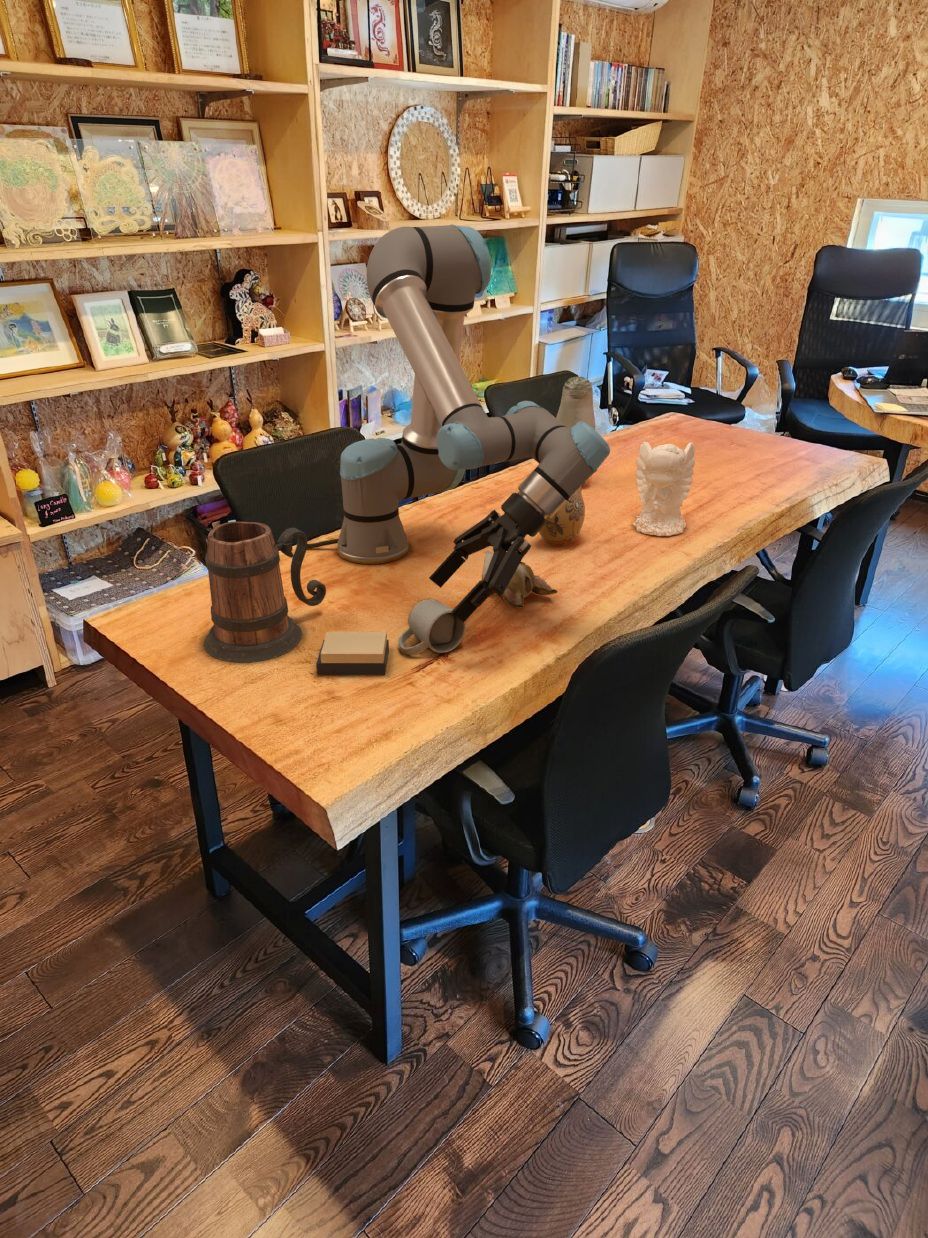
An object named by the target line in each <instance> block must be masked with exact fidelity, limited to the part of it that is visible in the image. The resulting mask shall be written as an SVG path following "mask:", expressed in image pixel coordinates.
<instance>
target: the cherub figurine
mask: <svg viewBox="0 0 928 1238" xmlns="http://www.w3.org/2000/svg"><path fill="white" fill-rule="evenodd" d="M695 449H696V448H695V445H694V443H693V441H692V442H691V441H690V442H689V443H687V444H686V446H685V448H684V449H683V448H680V447H678V446H676V445H675V444H673V443H665V444H660V445H656V446H655V447H653V448H652V446H651V444H650V443H649V442H648V441H643V442H642V443H641V444H640V446H639V449H638V456H637V458H636V463H635V464H636V470H635V478H636V480H635V483H636V486H637V492H638V494H639V495H638V497H639V500H640V501H641V511H640V513H639V515H636V516H635V518H636V519H635V520H636V521H634V522H633V523H632V526H634V528H636V531H637V532H639V533H642V534H645V535H650V536H657V537H663V536H665V537H670V536H674V535H679V534H682V533H684V529H685V528H686V527H687V526H686V525H687V524H686V520H685V519H684V516H683V515H682V509H681V507H683V502H684V500H687V498H688V497H689V494H688V493H689V492H690V491H691V488H692V487H691V484H692V482H693V477H692V476H693V475H694V467H695V465H696V459H695V452H696V450H695Z"/></svg>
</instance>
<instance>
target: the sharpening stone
mask: <svg viewBox="0 0 928 1238" xmlns="http://www.w3.org/2000/svg"><path fill="white" fill-rule="evenodd" d="M389 644H390V643H389V639H388V632H387V631H327V632H326V635H325V638H324V639H323V641H322V644H321V647H320V650H319V653H318V657H317V661H316V664H315V665H316V676H386V673H387V667H388V666H387V665H388V659H389V652H390V645H389Z"/></svg>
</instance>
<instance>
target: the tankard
mask: <svg viewBox="0 0 928 1238" xmlns="http://www.w3.org/2000/svg"><path fill="white" fill-rule="evenodd" d="M295 536H296V537H297V539H296V540H297V541H296V547H295V550H294V553H293V549H294V548H293V542H292V539H293V538H294V537H295ZM307 544H308V538H307V534H306V533H305V532H304V531H302V530H300V529H298V528H296V527H289V528H286V529H285V530H284V531H283V532H282V533H281V534H280V536H279V538H278V539H277V544H276V542H275V539H274V535H273V532H272V529H271V528H270V526H269V525H267V524H265V523H262V522H258V521H257V522H254V521H228V522H224V523H221V524H219V525H217V526H214V527H213V528H212V529H211V530H210V532H209V533H208V534H207V548H206V549H207V550H206V553H205V555H204V556H205V557H204V558H205V567H206V569H207V572H208V573H207V574H208V581H209V582H208V583H209V591H210V592H209V593H210V602H211V606H210V617H211V621H212V623H213V625H212V626H211V627H210V629H209V631H208V634H207V635H206V636H205V638H204V640H203V648H204V650H205V652H206V653H207V654H208V655H210V656H211V657H213V658H214V659H217V660H220V661H224V662H230V663H241V664H243V663H255V662H261V661H267V660H271V659H274V658H277V657H280V656H282V655H284V654H286V653H288V652H290V651H292V649H294V648H295V647H296V646H298V645H299V643H300V642H301V640H302V638H303V630H302V628H301V627H300V625H299V624H297V623H296V622H295V621H294V620H293V618H292V617H290V616H289V615H288V613H289V605H288V600H287V598H286V596H285V593H284V592H285V591H284V585H283V579H282V573H281V566H280V560H281V557H280V552H281V553H282V554H284V555H285V556H287V557H288V558H291V563H290V583H291V586H292V587H291V588H292V590H293V592H294V595H295V596H296V597H297V599H298V600H299V601H300V602H302V603H304V604H305V605H306V606H308V607H317V606H319V605H320V604H322V602H323V601H324V599H325V598H326V594H327V588H326V585H325V584H324V583H323V582H321V581H319V580H318V579H311V580H309V581H308V582H307V584H306V591H307V593H308V594H309V595H311V596H312V597H310V598H307V596H306V595H305V593H304V590H303V587H302V581H301V572H302V566H303V562H304V559H305V556H306V553H307V549H308V548H307ZM279 551H280V552H279Z"/></svg>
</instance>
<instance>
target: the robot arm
mask: <svg viewBox="0 0 928 1238" xmlns="http://www.w3.org/2000/svg"><path fill="white" fill-rule="evenodd" d="M491 276H492V261H491V254H490V252H489V248H488V247H487V244H486V241H485V238H483V236H482V235H481V233H480V232H479V231H478V230H477V229H475V228H474V227H472V226H469V225H468V226H467V225H455V224H448V225H447V224H445V225H427V226H425V225H424V226H399V227H396V228H393V229H391V230H389V231H388V232H386V233H384V234H383V235H382V236H381V237H380V238H379V239H378V240H377V242H376V243H375V244H374V246H373V248H372V249H371V252H370V254H369V257H368V261H367V265H366V286H367V290H368V294H369V297H370V300H371V302H372V304H373V306H374V308H375V310H376V312H377V313H378V315H380V316H381V317H383V318H386V319H387V321H388V323H389V325H390V327H391V328H392V331H393V333H394V335H395V337H396V339H397V340H398V343H399V345H400V347H401V349H402V351H403V352H404V355H405V357H406V359H407V361H408V363H409V365H410V367H411V369H412V371H413V373H414V378H413V391H412V403H411V412H410V413H411V415H410V423H409V424H408V425H407V426H405V427H404V428H403V430H402V438H401V442H400V443H396V442H395V441H394V440H392V439H390V438H385V437H384V438H383V437H378V438H373V437H372V438H366V439H361V440H359V441H355V442H353V443H351V444H350V445H348V446H346V447H345V448H344V450H343V451H342V452H341V454H340V468H339V475H340V481H341V482H340V483H341V493H342V495H341V496H342V507H343V521H342V524H341V529H340V532H339V536H338V538H333V539H328V540H322V541H318V542H313V543H312V542H311V543H307V549H315V548H316V549H317V548H321V547H324V546H325V547H326V546H330V545H331V546H332V545H336V544H337V553H338V556H339V557H340V558H341V559H344V560H346V561H348V562H350V563H356V564H363V565H377V564H378V565H380V564H385V563H390V562H394V561H397V560H399V559H402V558H403V557H405V555H407V554H408V552H409V547H410V546H409V538H408V536H407V533H406V530H405V528H404V526H403V524H402V520H401V518H400V509H399V507H400V506H399V505H400V504H399V501H403V500H407V499H408V500H409V499H413V498H419V497H423V496H428V495H435V494H436V495H437V494H442V493H444V492H446V491H450V490H453V489H455V488H456V487H458V485H459V484H460V483H461V482H462V480H463V478H464V476H465V472H466V470H475V469H478V468H481V467H485V466H490V465H494V464H495V465H496V464H500V463H506V462H513V461H518V460H524V459H528V458H531V459H533V460H534V461H535V462H537V463H538V465H537V466H536V467H534V469H533V470H532V471H531V472H530V473H529V474H528V475H527V477H526V478H524V480H523V481H522V482H521V483H520V484H519V485H518V486H517V489H518V491H517V492H516V491H515V492H511V494H510V495H509V496H508V497H507V499H506V500H505V501H504V502H502V504H500V505H501V506H500V509H501V511H502V512H503V514H502V515H501V514H500V513H499V512H498V511H496V510H495V509H493V510H492V511H490V512H489V513H488V514H487V515H486V516H485V517H484V518H483V519H481V520H480V521H478V522H477V523H475V524H474V525H472V526H471V527H469V528H468V529H467V530H465V531H464V532H462V533H461V534H459V535H458V536H457V537H455V538H454V539H453V541H452V543H453V544H454V547H453V551H452V552H450V554H449V555H448V556H447V557H446V558H445V559H444V560H443V561H442V563H441V564H440V565H439V566H438V567H437V568H436V569H435V570H434V571H433V572H432V574H431V575H430V576H429V577H428V579H429V580H430V581H431V582H432V583H434V585H436V586H438V587H439V588H442V587H443V586H444V585H445V584H446V583H447V582H449V580H450V579H451V578H452V576H453V575H454V574H455V573H456V572H457V571H458V570H459V569H460V568H461V567H462V565H463V564H464V563H466V561H467V560H468V559H469V556H471V555H474V554H476V553H477V552H481V551H482V550H484V549H486V548H489V547H492V551H493V553H494V554H493V556H492V559H491V562H490V564H489V567H488V569H487V572H486V575H485V577H484V580H482V579H481V580H478V582H476V584H475V585H474V586H473V588H472V589H471V590H470V591H469V592H468V593H467V594H466V595H465V596H464V597H463V598H462V599H461V600H460V602H459V603H458V604H457V605H456V606H454V608H452V609H453V610H452V611H451V612H452V613H453V614H454V615H455V616H456V617H458V618H459V619H460V620H461V621H463V622H465V623H466V622H467V620H468V619H469V618H470V617H471V616H472V615H473V614H474V613H475V612H476V611H477V609H478V608H479V607H481V606H482V605H483V604H484V602H486V601H487V599H488V598H490V596H491V595H496V596H498V597H502V595H503V593H504V591H505V590H506V588H507V586H508V584H509V582H510V580H511V579H512V577H513V575H514V573H515V571H516V569H517V568H518V566H519V564H520V562H522V560H523V558H524V557H525V556H526V554H527V553H528V552H529V551H530V550H531V548H532V545H531V544H530V542H528V541H527V540H526V539H525V537H527V535H528V536H529V537H531V538H534V537H536V535H537V534H539V531H540V530H541V529H542V528H543V527H544V526H545V525H546V522H547V521H546V520H545V518H547V517H548V518H552V517H553V516H554V514H555V513H556V512H557V511H558V510H560V509H561V508H562V506H563V505H564V504H565V502H566V501H568V499H569V498H570V497H571V496H572V495H573V494H574V492H575V491H576V490H577V489H578V488H579V487H580V486H581V485H582V486H583V485H584V484H585V483H586V482H587V481H588V480H589V479H590V478H591V477H592V476H593V475H594V474H595V473H596V472H597V471H598V469H599V468H600V467H601V465H602V464H603V463H604V462H605V460H607V458H608V457H609V455H610V453H611V448H610V445H609V443H608V442H607V441H606V439H604V437H603V436H602V435H601V434H600V433H599V432H598V431H597V430H596V429H595V430H594V429H593V428H592V427H591V426H589V425H588V424H586V423H584V422H581V421H580V422H578V423H577V424H576V425H575V426H573V427H571V429H570V428H568V427H566V426H565V425H564V424H563V423H561V422H560V421H559V420H558V419H556V418H557V417H555V416H554V415H553V414H552V413H550V412H549V410H547V409H545V407H542V406H540V405H538V404H537V403H535V402H534V401H531V400H523V401H520V402H517V404H516V405H514V406H511V407H510V408H509V409H508V410H507V413H506V414H505V415H499V416H491V417H489V416H488V415H487V412H486V411H485V410H484V407H483V406H482V404H481V401H480V400H479V398H478V396H477V394H476V392H475V390H474V388H473V386H472V384H471V382H470V380H469V379H468V376H467V374H466V373H465V371H464V369H463V367H462V365H461V363H460V358H461V351H462V350H461V349H462V342H463V341H462V340H463V331H464V324H465V316H466V315H467V314H468V313H470V312H471V311H473V309H474V307H475V299H476V295H479V294H481V293H483V292H484V291H485V290H486V289H487V287H488V286H489V284H490V281H491ZM584 482H585V483H584ZM499 585H500V586H499Z"/></svg>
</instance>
